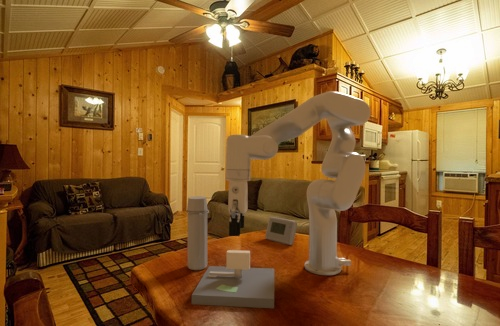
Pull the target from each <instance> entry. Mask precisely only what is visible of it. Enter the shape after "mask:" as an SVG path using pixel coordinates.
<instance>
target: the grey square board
mask: <svg viewBox="0 0 500 326" xmlns="http://www.w3.org/2000/svg"><path fill="white" fill-rule="evenodd" d="M210 271H214V272H234V269H226V266H221V265H220V266H218V265H217V266H215V265H209V266H207V269H206V271H205V272H204V274H203V276H202V277H201V279H200V281H199V282H198V283H197V286H196V287H195V289H194V291H193V292H192V294H191V305H197V306H198V305H201V306H202V305H203V306H221V307H222V306H223V307H237V308H239V307H240V308H261V309H275V268H268V267H267V268H265V267H250V269H249V270H245V269H242V278H241V279H235V278H234V277H233V276H209V272H210Z"/></svg>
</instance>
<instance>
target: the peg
mask: <svg viewBox="0 0 500 326" xmlns="http://www.w3.org/2000/svg"><path fill="white" fill-rule="evenodd" d="M225 267H226V269H234V272H214V271H210V272H209V276H233V277H234V278H235V279H241V278H242V269H245V270H249V269H250V268H251V250H240V249H239V250H237V249H236V250H235V249H234V250H233V249H227V251H226V266H225Z"/></svg>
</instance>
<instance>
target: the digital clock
mask: <svg viewBox="0 0 500 326" xmlns="http://www.w3.org/2000/svg"><path fill="white" fill-rule="evenodd" d="M297 227H298V222H297V221H296V220H292V219H287V218H283V217H278V216H277V217H276V216H275V217H274V216H269V218H268V223H267V226H266V231H265V237H264V238H265V239H266V240H269V241H270V242H274V243H279V244H282V245H288V246H293V244H294V241H295V237H296V232H297Z"/></svg>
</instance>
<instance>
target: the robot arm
mask: <svg viewBox="0 0 500 326" xmlns="http://www.w3.org/2000/svg"><path fill="white" fill-rule="evenodd" d="M371 113H372V111H371V108H370V106H369V104H368V103H367V102H366V101H365V100H363V99H360V98H358V97H355V96H353V95H349V94H346V93H342V92H339V91H335V90H334V91H333V90H329V91H326V92H323V93H319V94H317V95H314V96H311V97H310V98H307V100H305V101H304V102H302V103H300V104H299V105H297V107H295V108H293V109H292V110H291V111H289V112H288V113H286V114H284V115H283V116H281V117H279V118H277V119H276V120H274V121H273V122H271V123H268V124H267V125H265V126H263V127H262V128H261V129H259V130H258V131H256V132H254V133H253V134H252V135H246V134H231V135H228V136H227V138H226V150H225V151H226V155H225V160H226V161H225V181H227V182H228V204H227V205H228V207H227V208H228V209H227V210H228V214H229V221H228V236H229V237H240V236H241V229H243V228H245V215H246V213H247V211H248V207H249V206H248V205H249V203H248V202H249V201H248V192H249V191H248V182H250V181H251V174H252V173H251V172H252V171H251V170H252V169H251V168H252V160H262V161H263V160H271V159H272V158H274V157H275V156H276V155H277V153H278V152H279V144H280V143H284V142H286V141H290V140H292V139H293V140H294V139H295V138H297V137H300V136H302V135H303V134H304V133H306V132H307V131H308V130H310V129H311V128H312V127H314V126H315V125H317V124H318V123H319V122H321V121H322V120H325V119H326V121H327V124H328V126H329V129H330V132H331V137H332V138H331V141H330V144H329V147H328V149H327V151H326V154H325V156H324V159H323V161H322V163H321V167H320V169H321V173H322V175H323V176H324V177H327V178H328V179H321V178H320V179H315V180H312V181H311V182H310V183H309V185H308V186H307V189H306V200H307V206H308V214H309V215H308V220H309V221H308V225H309V226H308V237H309V238H308V260H306V261H305V262H304V268H305V270H306V271H308V272H309V273H312V274H315V275H320V276H334V275H335V276H336V275H338V274H340V273H341V271H342V266H348V267H351V265H352V262H351V259H346V258H345V257H338V255H337V254H338V253H337V251H338V249H337V248H338V247H337V246H338V245H337V244H338V219H337V213H336V211H339V212H341V211H343V212H344V211H347V210H348V209H350V208H351V207H352V205H353V204H354V202H355V200H356V198H357V195H358V192H359V190H360V188H361V185H362V182H363V181H364V178H365V174H366V168H367V167H366V161H365V159H364V157H363V156H362V154H360V153H358V152H355V151H354V150H355V148H356V143H357V142H356V137H355V134H354V132H353V130H352V127H356V126H362V125H365V123H367V122H368V121H369V119H370V118H371ZM332 179H335V180H332Z"/></svg>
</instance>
